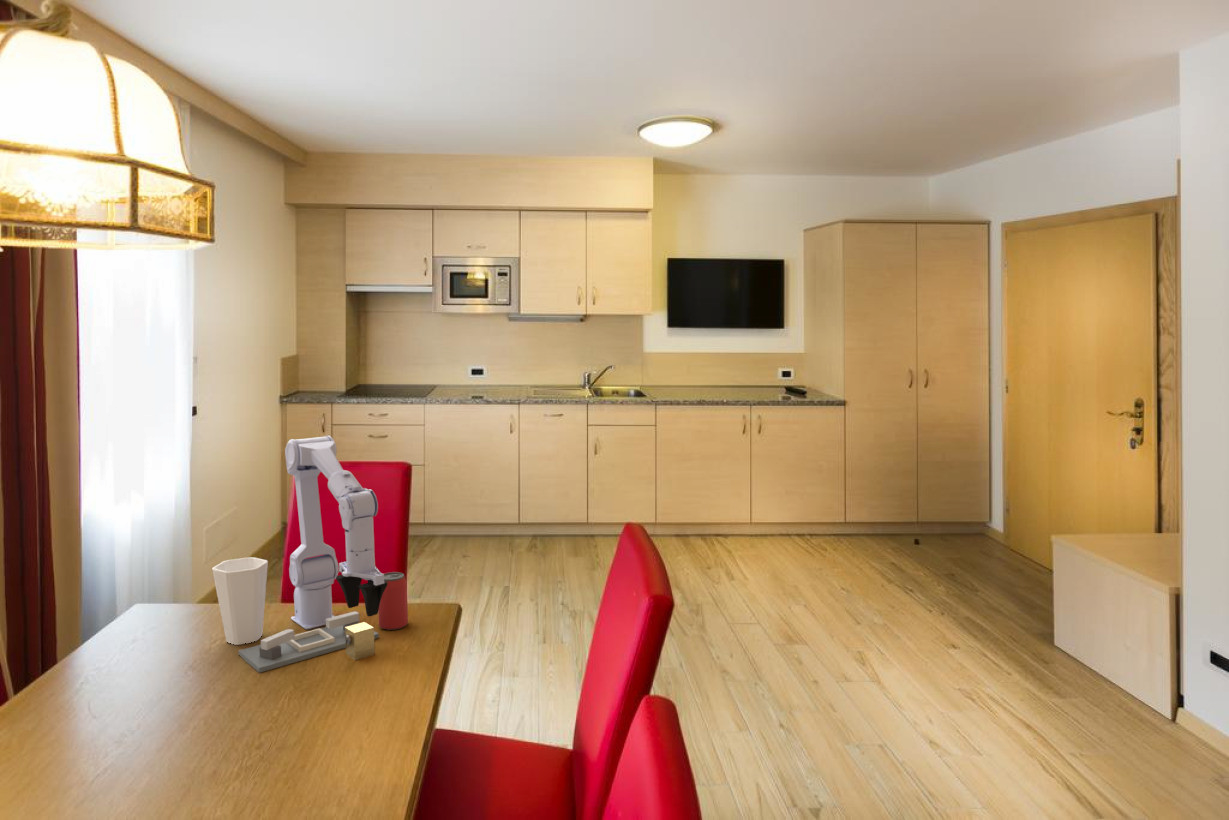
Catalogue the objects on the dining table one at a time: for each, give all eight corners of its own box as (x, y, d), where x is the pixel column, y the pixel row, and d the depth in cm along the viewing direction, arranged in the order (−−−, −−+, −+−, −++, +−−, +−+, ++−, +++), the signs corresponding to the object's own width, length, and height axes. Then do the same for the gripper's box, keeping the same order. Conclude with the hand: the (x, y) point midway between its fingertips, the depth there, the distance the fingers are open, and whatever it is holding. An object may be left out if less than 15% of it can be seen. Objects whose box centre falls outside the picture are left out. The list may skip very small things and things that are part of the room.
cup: (255, 648, 174) (251, 572, 172) (208, 648, 174) (204, 572, 172) (277, 629, 185) (274, 557, 183) (234, 629, 185) (230, 557, 183)
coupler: (343, 655, 170) (342, 628, 170) (367, 647, 174) (366, 621, 173) (352, 661, 167) (351, 633, 166) (377, 653, 171) (376, 626, 170)
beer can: (414, 623, 188) (412, 574, 186) (392, 633, 182) (390, 581, 181) (394, 618, 191) (392, 569, 190) (372, 627, 186) (370, 577, 184)
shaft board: (238, 655, 170) (237, 632, 170) (354, 623, 188) (353, 603, 187) (259, 672, 162) (257, 649, 161) (378, 638, 179) (378, 616, 179)
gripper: (324, 546, 170) (327, 608, 172) (361, 558, 161) (364, 624, 162) (355, 539, 175) (357, 599, 177) (392, 551, 166) (394, 614, 167)
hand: (362, 610), depth 170 cm, fingers open, 7 cm apart
